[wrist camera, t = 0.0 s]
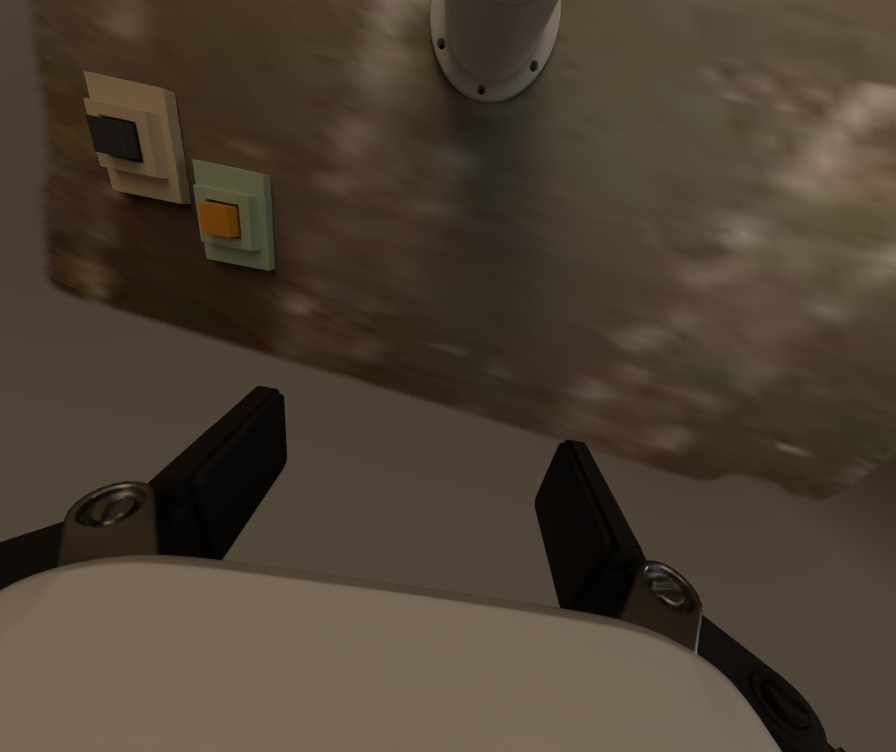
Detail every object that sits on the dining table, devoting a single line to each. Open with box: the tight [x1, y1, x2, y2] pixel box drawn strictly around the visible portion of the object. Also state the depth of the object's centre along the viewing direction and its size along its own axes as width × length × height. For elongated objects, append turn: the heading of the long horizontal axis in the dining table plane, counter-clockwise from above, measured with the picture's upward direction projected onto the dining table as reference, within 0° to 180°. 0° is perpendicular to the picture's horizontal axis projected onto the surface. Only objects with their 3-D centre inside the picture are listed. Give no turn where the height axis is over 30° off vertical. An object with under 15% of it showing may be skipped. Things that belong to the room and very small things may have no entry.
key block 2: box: [192, 159, 275, 271], centre depth 40 cm, size 11×8×4 cm
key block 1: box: [83, 71, 191, 204], centre depth 37 cm, size 11×8×4 cm
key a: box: [86, 114, 143, 160], centre depth 35 cm, size 3×3×2 cm
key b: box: [198, 201, 241, 238], centre depth 38 cm, size 3×3×2 cm
